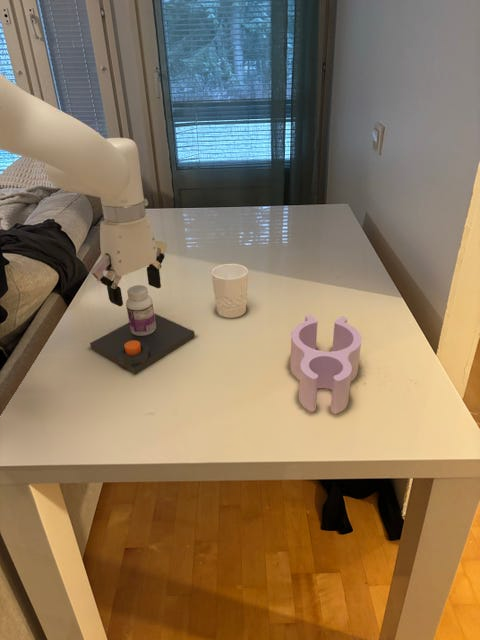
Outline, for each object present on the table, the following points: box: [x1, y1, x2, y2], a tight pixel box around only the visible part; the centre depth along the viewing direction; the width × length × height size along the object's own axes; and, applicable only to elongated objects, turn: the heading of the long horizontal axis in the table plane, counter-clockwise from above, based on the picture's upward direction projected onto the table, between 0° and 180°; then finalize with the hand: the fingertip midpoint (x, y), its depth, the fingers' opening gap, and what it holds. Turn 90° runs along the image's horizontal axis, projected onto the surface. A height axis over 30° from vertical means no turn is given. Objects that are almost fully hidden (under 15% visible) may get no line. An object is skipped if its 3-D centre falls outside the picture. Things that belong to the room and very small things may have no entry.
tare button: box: [124, 340, 141, 355], centre depth 89 cm, size 3×3×2 cm
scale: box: [89, 312, 196, 375], centre depth 95 cm, size 16×14×3 cm
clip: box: [289, 314, 362, 415], centre depth 84 cm, size 20×12×7 cm, turn 171°
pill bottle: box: [125, 284, 156, 336], centre depth 95 cm, size 5×5×10 cm
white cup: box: [211, 263, 249, 319], centre depth 104 cm, size 8×8×10 cm
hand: (136, 294), depth 93 cm, fingers open, 9 cm apart
